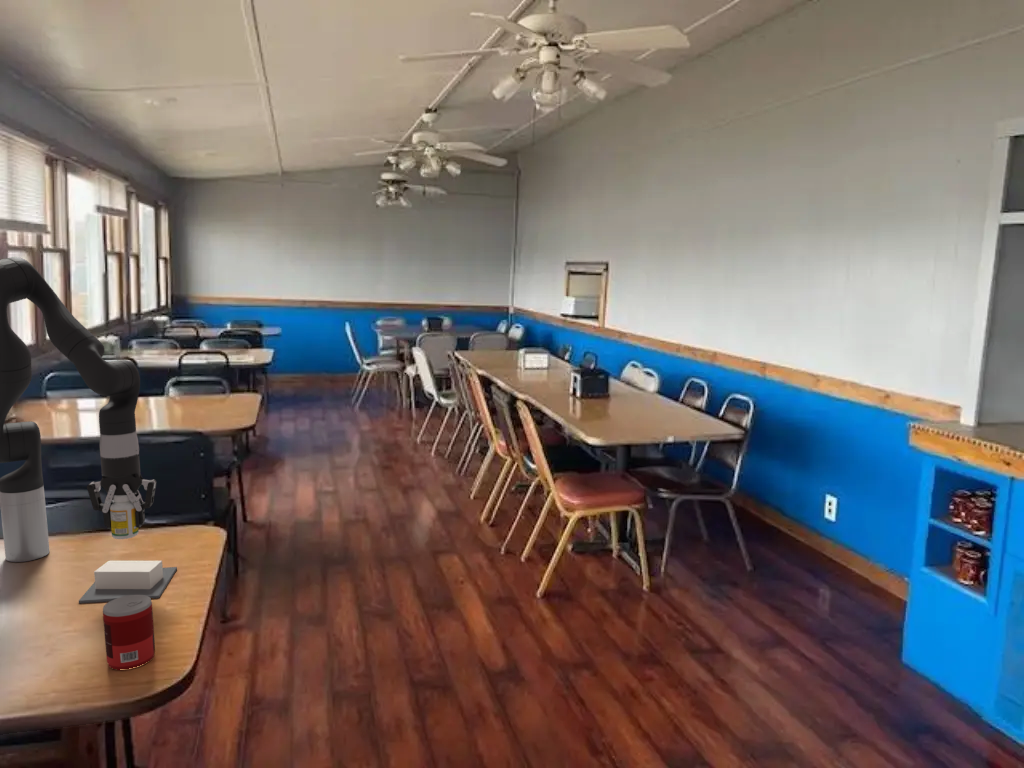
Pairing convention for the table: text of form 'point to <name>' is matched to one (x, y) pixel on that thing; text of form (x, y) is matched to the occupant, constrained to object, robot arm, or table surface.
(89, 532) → the table surface
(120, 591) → the mat
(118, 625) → the canned food
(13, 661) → the table surface
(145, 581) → the riser block
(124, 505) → the supplement bottle
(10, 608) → the table surface
